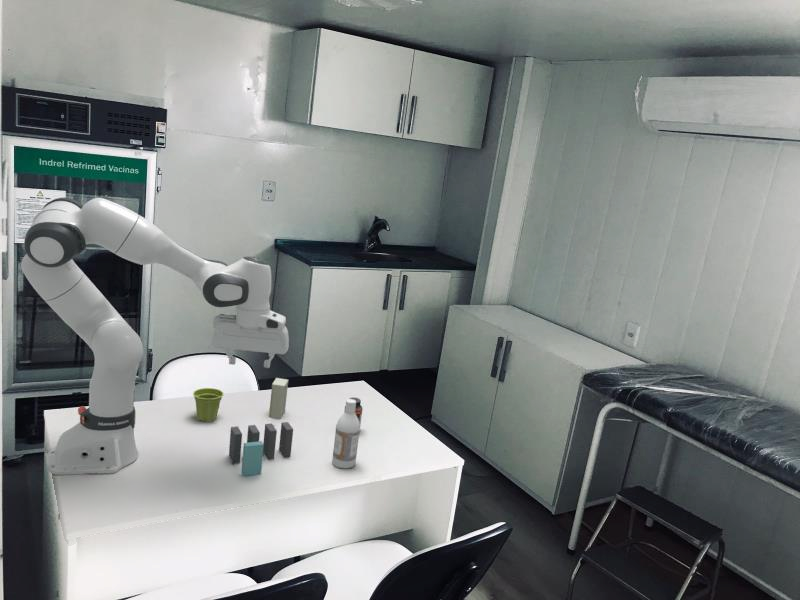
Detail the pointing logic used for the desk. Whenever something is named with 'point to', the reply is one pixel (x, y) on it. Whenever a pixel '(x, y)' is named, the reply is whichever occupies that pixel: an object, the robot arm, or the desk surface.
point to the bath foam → (346, 437)
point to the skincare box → (278, 398)
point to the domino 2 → (253, 434)
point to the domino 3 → (252, 458)
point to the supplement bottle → (357, 408)
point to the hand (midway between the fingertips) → (249, 365)
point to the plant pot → (207, 403)
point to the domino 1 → (235, 445)
